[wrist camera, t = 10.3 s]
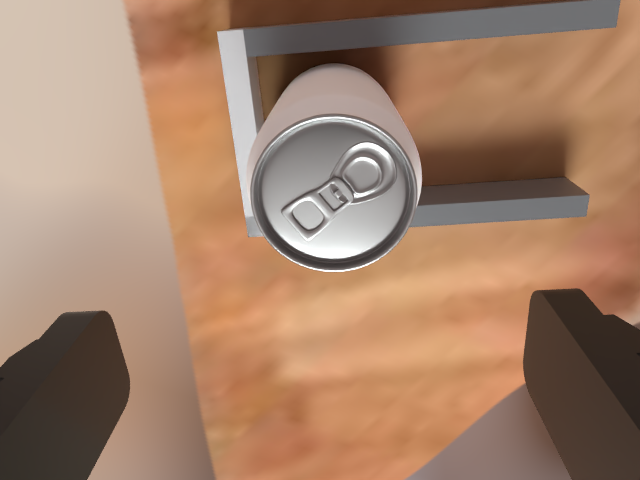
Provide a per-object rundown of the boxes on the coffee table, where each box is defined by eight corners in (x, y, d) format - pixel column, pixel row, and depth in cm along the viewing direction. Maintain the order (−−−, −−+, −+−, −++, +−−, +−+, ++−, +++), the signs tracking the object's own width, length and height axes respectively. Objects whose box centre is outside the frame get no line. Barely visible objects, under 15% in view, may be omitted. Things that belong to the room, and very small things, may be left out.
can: (416, 132, 28) (468, 213, 17) (325, 201, 30) (319, 313, 19) (344, 34, 26) (351, 54, 15) (251, 114, 28) (196, 184, 17)
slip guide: (589, -2, 25) (620, -3, 22) (562, 196, 29) (586, 216, 26) (229, 28, 26) (217, 31, 23) (255, 216, 30) (248, 237, 27)
